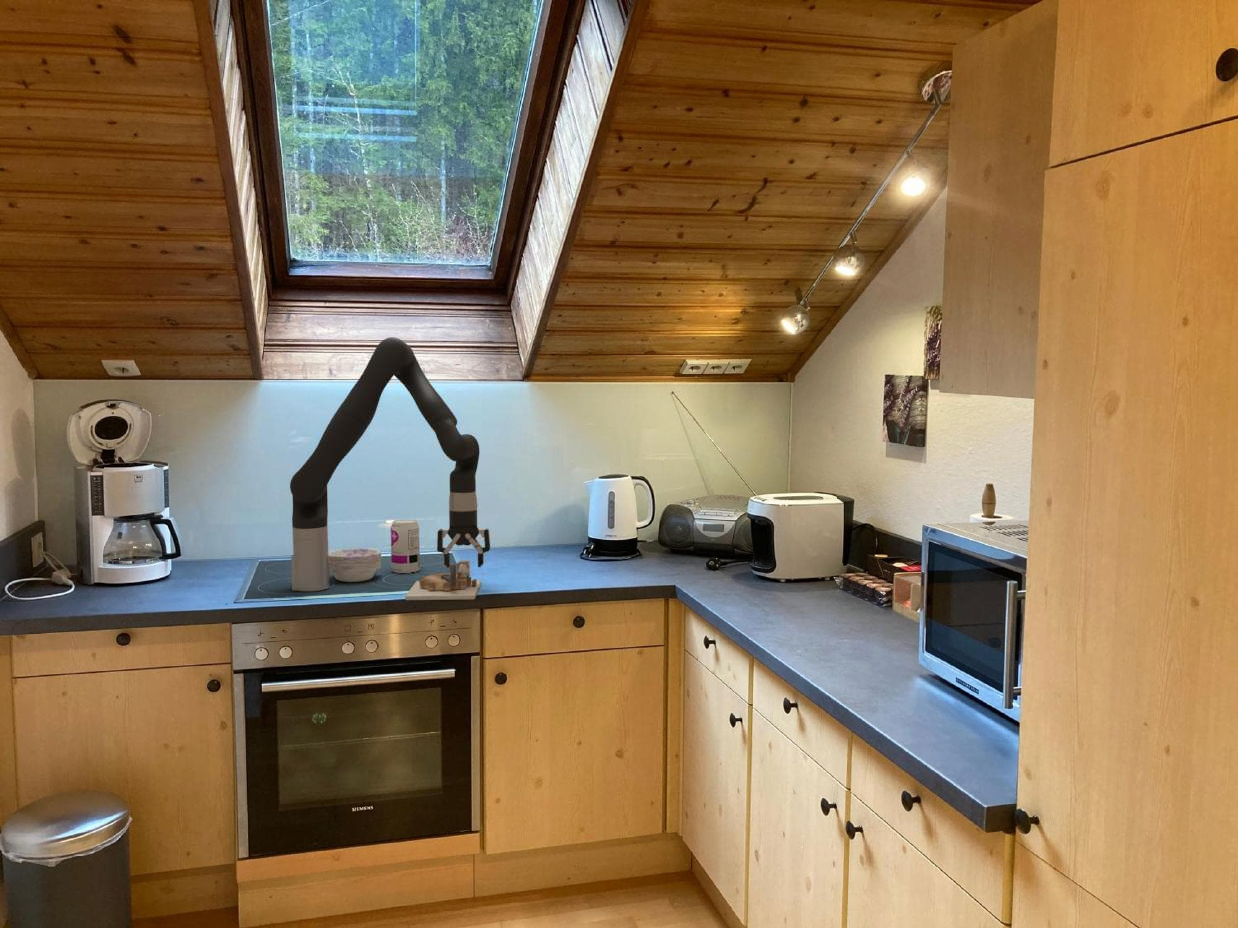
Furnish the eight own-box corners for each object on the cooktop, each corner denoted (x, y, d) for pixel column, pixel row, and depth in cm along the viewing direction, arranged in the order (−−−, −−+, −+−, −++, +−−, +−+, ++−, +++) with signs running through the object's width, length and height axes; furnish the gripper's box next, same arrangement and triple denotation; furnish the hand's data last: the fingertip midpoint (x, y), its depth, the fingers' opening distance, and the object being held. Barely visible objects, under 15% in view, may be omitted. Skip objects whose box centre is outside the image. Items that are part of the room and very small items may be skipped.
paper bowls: (371, 571, 305) (370, 545, 304) (389, 580, 292) (388, 553, 292) (320, 577, 297) (319, 550, 296) (336, 587, 284) (335, 558, 283)
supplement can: (394, 575, 300) (393, 524, 298) (389, 569, 307) (388, 520, 306) (422, 572, 303) (421, 522, 301) (416, 567, 310) (415, 518, 309)
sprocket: (443, 594, 268) (442, 567, 268) (410, 584, 280) (409, 558, 279) (486, 586, 278) (485, 560, 277) (452, 577, 289) (452, 552, 289)
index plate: (405, 600, 268) (405, 590, 268) (416, 584, 287) (416, 575, 287) (474, 599, 269) (474, 589, 268) (481, 583, 288) (481, 574, 287)
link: (456, 579, 278) (456, 564, 277) (459, 574, 284) (458, 560, 283) (468, 579, 278) (468, 564, 277) (470, 574, 284) (470, 559, 283)
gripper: (434, 510, 275) (435, 570, 276) (488, 509, 275) (489, 569, 277) (438, 506, 282) (439, 564, 284) (490, 506, 283) (491, 564, 284)
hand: (464, 567), depth 280 cm, fingers open, 8 cm apart
